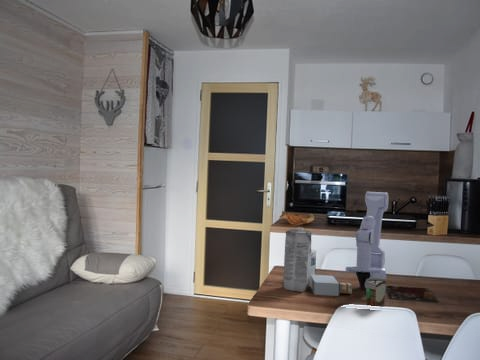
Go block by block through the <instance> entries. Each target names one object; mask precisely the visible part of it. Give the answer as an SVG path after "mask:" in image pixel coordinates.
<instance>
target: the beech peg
mask: <svg viewBox="0 0 480 360" xmlns="http://www.w3.org/2000/svg"><path fill="white" fill-rule="evenodd" d="M339 283H340V294H353V292H352V291H353V284H352V283H350V282H339Z"/></svg>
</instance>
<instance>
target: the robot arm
mask: <svg viewBox="0 0 480 360" xmlns="http://www.w3.org/2000/svg"><path fill="white" fill-rule="evenodd" d="M389 199H390V197H389V193H388V192H382V191H379V192H378V191H377V192H376V191H370V190H368V191H366V193H365V195H364V202H365V205H366V215H365V216H363V217H362V220H361V223H360V227H359V229H358V230H357V231H356V233H355V240H356V266H345V272H346V273H355V275H356V277H357V279H358V284H359V288H360V289H359V290H361V291H365V290H366V286H365V281H366V280H367V279H369V278H381V279H387V272H386V271H387V270H386V268H384V267H385V263H386V259H385V257H386V255H385V251H384V250H383V249H382V248H381V247H380V242H381V241H380V240H381V235H382V234H381V233H382V223H383V217H384V216H383V215H384V213H385V212H387V211H388V209H389V203H390V202H389Z"/></svg>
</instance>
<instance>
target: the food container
mask: <svg viewBox="0 0 480 360" xmlns="http://www.w3.org/2000/svg"><path fill="white" fill-rule="evenodd" d="M387 284H388V283H387V278H386V279H381V278H369V279H367V280H366V281H365V286H366V288H365V290H366V292H365V293H366V306H367V305H371V306H382V307H383V306H385V304H386V302H385V301H386V293H387V291H386V290H387Z"/></svg>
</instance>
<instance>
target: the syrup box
mask: <svg viewBox="0 0 480 360" xmlns="http://www.w3.org/2000/svg"><path fill="white" fill-rule="evenodd" d="M316 261H317V251H316V250H315V249H311V263H310V278H311V275H316V266H317V264H316V263H317V262H316ZM309 283H310V281H309Z"/></svg>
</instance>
